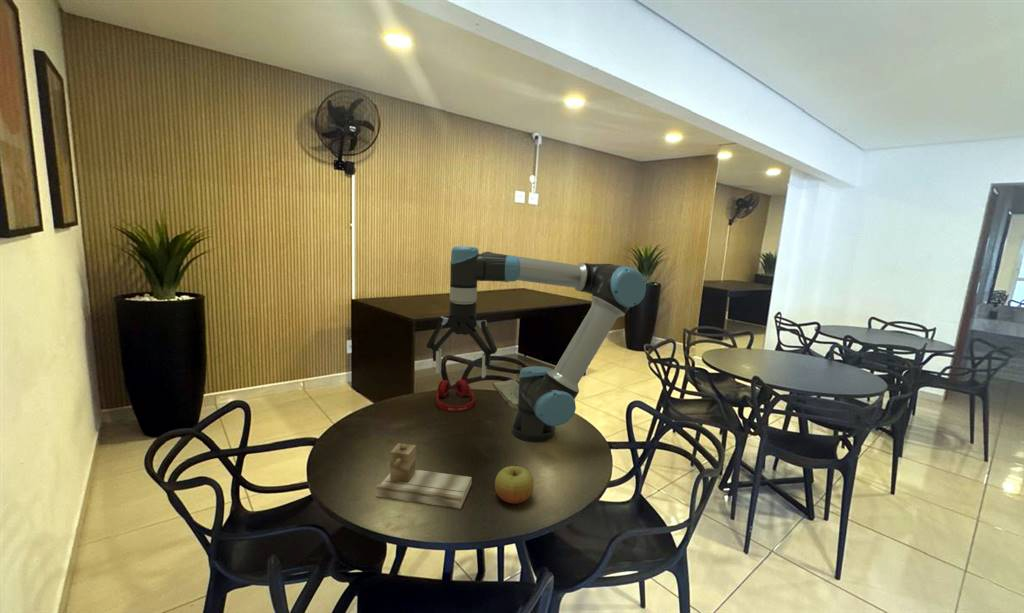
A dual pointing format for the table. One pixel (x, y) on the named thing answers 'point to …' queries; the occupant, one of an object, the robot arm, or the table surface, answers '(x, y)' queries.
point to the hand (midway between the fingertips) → (460, 374)
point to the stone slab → (508, 391)
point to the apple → (514, 484)
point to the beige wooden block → (402, 462)
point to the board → (428, 489)
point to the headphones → (461, 390)
